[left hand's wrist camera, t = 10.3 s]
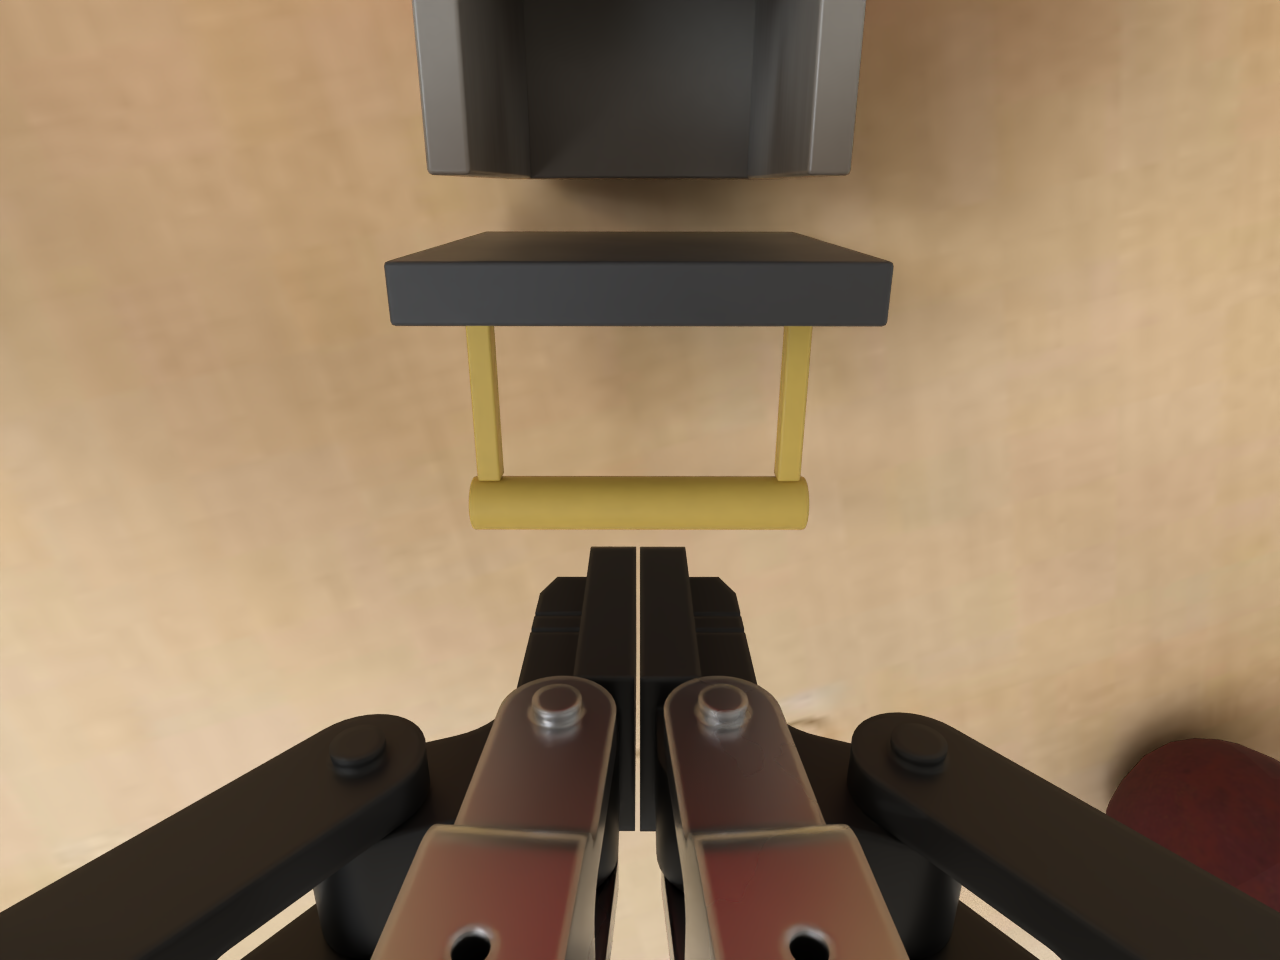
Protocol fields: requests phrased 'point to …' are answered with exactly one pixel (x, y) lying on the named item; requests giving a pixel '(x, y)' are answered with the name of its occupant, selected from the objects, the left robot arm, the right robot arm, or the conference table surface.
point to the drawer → (639, 261)
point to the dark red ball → (1210, 810)
